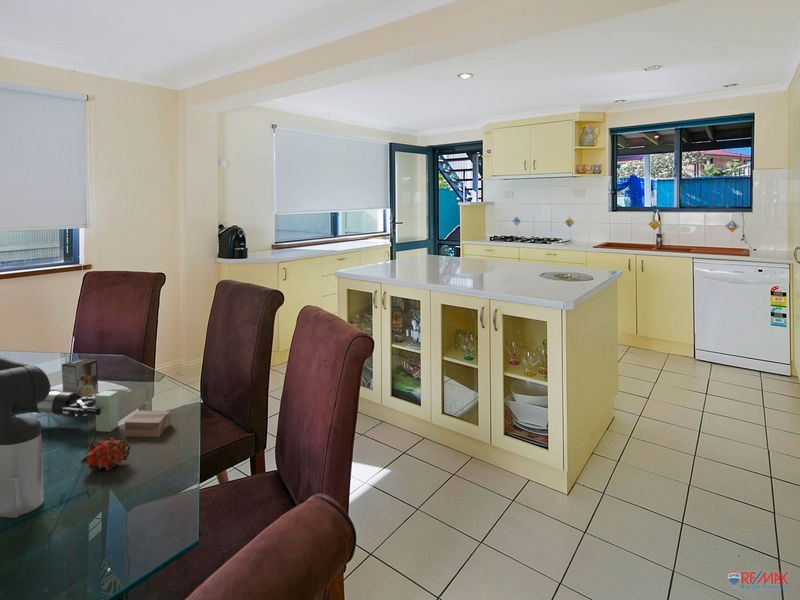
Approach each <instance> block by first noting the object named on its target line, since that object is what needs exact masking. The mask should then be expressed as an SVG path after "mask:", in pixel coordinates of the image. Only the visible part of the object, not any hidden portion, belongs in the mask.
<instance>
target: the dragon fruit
mask: <svg viewBox="0 0 800 600" xmlns="http://www.w3.org/2000/svg"><path fill="white" fill-rule="evenodd" d="M130 449H131V447H130V444H128V443H127V442H126V441H125V440H123V439H122V440H120V439H118V440H117V439H116V438H113V437H110V438H109V440H108V439H105V440H104V439H103V440H100V441H98V443H97V444H94V445H91V447H90V449H89V451H88V452H87V454H86V455H85V456H84V457H83V458H82V460H80V464H81V465H83V463H85V464H87V465H86V469H87V470H92V471H93V470H101V469H103V468H105V469H106V471H110V470H111V469H112V468H114V467H118V466H119V464H121V463H122V461H123V462H125V461H127V460H128V456H129V455H130Z"/></svg>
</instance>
